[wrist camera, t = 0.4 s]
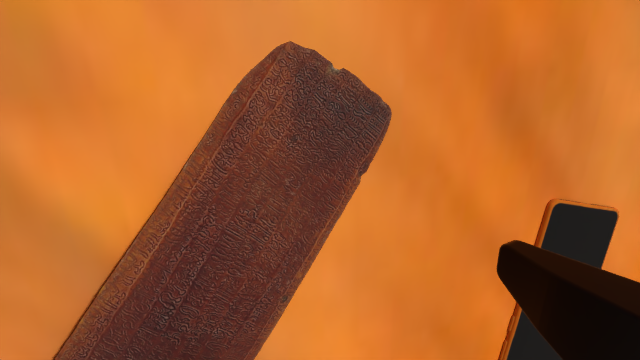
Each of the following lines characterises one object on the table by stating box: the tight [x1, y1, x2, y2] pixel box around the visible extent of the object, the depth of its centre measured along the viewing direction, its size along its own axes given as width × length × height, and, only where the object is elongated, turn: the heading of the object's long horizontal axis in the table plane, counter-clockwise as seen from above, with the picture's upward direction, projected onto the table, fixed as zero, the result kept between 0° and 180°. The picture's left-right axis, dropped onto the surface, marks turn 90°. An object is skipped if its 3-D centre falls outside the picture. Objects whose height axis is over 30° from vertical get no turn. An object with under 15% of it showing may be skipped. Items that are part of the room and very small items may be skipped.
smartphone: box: [499, 199, 619, 360], centre depth 35 cm, size 8×17×1 cm, turn 167°
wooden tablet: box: [54, 41, 392, 360], centre depth 25 cm, size 27×10×2 cm, turn 144°
